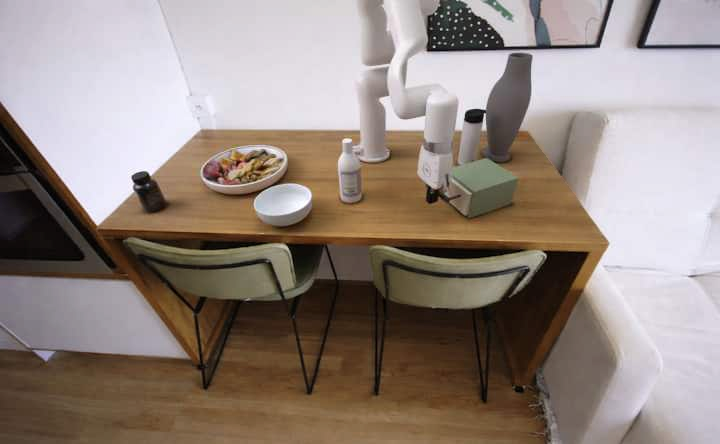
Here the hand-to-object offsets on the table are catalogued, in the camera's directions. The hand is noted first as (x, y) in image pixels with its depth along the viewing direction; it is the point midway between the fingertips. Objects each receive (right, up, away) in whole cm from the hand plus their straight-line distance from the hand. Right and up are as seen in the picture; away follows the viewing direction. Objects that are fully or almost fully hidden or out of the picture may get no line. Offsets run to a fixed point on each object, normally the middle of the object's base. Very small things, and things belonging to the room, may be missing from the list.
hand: (431, 201), depth 100 cm
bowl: (-62, +11, +25) cm, 68 cm away
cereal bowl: (-43, -5, +5) cm, 44 cm away
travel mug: (+18, +15, +25) cm, 34 cm away
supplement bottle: (-88, -1, +12) cm, 89 cm away
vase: (+31, +19, +29) cm, 47 cm away
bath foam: (-24, +2, +11) cm, 27 cm away
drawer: (+11, +1, +6) cm, 13 cm away
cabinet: (+15, +1, +8) cm, 17 cm away
